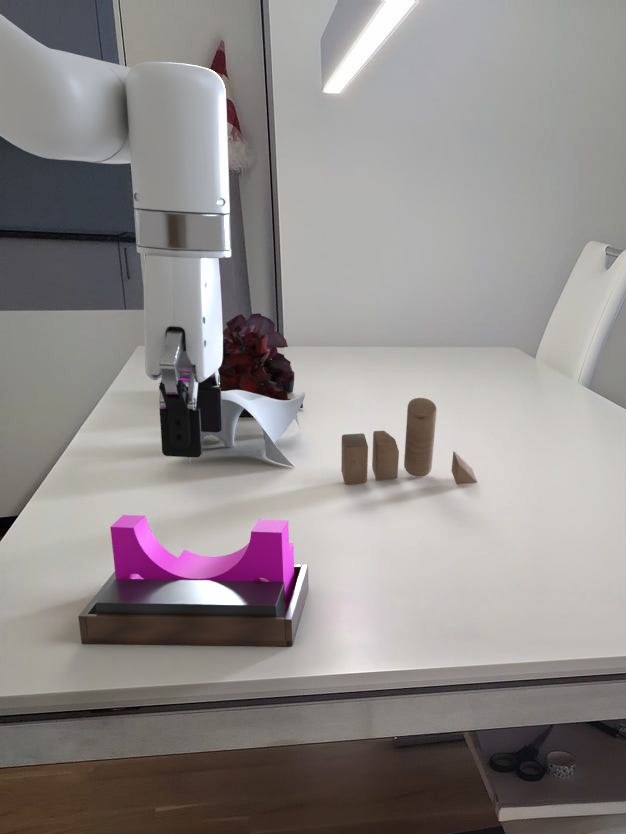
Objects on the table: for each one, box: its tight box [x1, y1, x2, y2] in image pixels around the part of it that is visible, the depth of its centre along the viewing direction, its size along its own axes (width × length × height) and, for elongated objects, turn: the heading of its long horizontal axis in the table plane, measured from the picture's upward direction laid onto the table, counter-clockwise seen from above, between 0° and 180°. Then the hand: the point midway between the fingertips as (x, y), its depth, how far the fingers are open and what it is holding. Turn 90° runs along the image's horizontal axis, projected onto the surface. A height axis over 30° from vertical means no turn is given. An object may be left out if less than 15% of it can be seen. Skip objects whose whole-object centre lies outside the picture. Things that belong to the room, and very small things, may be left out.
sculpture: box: [186, 390, 306, 468], centre depth 154 cm, size 25×19×10 cm
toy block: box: [110, 514, 295, 609], centre depth 95 cm, size 15×6×8 cm, turn 91°
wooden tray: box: [77, 564, 310, 647], centre depth 94 cm, size 18×14×4 cm
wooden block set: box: [340, 397, 478, 485], centre depth 140 cm, size 18×9×10 cm, turn 105°
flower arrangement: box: [213, 312, 304, 418], centre depth 187 cm, size 31×20×15 cm, turn 13°
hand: (194, 442), depth 91 cm, fingers open, 9 cm apart
